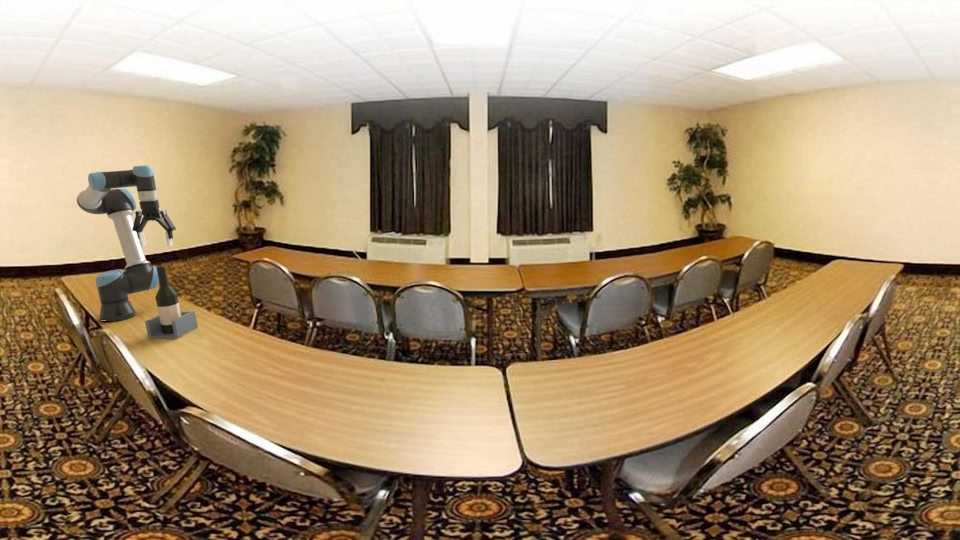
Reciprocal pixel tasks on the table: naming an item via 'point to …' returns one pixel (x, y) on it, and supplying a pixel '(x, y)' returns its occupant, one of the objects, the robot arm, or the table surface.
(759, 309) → the table surface
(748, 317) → the table surface
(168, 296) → the wine bottle
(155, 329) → the bottle stand
